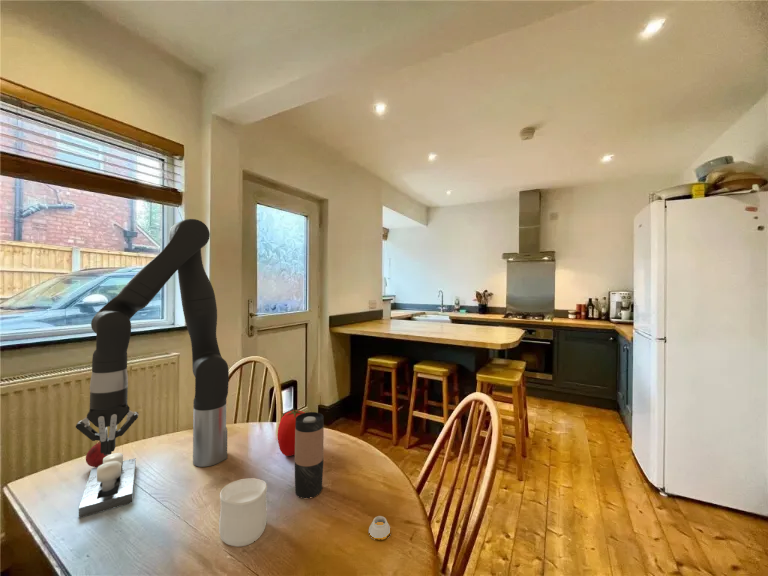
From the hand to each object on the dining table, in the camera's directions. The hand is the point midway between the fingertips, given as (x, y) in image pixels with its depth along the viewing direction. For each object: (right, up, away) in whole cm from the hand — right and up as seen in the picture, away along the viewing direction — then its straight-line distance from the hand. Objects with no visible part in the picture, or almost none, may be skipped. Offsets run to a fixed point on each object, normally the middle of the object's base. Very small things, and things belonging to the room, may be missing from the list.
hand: (107, 453), depth 85 cm
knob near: (+2, -8, -2) cm, 8 cm away
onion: (-14, -11, +13) cm, 22 cm away
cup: (+40, -12, -11) cm, 43 cm away
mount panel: (-2, -11, +3) cm, 12 cm away
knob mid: (-2, -11, +3) cm, 11 cm away
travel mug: (+51, -12, +4) cm, 53 cm away
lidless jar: (+71, -13, -11) cm, 73 cm away
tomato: (+43, -12, +23) cm, 50 cm away
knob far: (-5, -11, +8) cm, 14 cm away
